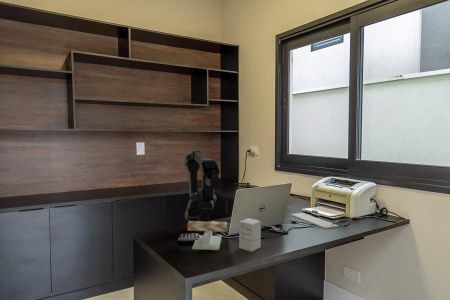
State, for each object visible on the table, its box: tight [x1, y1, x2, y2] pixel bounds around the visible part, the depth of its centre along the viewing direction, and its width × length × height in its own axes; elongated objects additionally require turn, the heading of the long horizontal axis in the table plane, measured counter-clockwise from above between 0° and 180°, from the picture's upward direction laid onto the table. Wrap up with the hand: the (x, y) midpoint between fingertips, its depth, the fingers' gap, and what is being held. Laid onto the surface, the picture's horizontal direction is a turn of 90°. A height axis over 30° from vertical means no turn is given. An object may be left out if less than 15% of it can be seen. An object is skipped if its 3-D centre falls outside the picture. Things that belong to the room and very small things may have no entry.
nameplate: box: [268, 226, 289, 235], centre depth 176 cm, size 27×2×10 cm
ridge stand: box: [191, 231, 222, 251], centre depth 149 cm, size 16×12×6 cm
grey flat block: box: [290, 212, 341, 230], centre depth 190 cm, size 31×3×12 cm
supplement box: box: [238, 217, 262, 253], centre depth 144 cm, size 7×7×13 cm
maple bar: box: [187, 220, 228, 232], centre depth 149 cm, size 18×4×4 cm, turn 88°
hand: (207, 218), depth 149 cm, fingers open, 9 cm apart
